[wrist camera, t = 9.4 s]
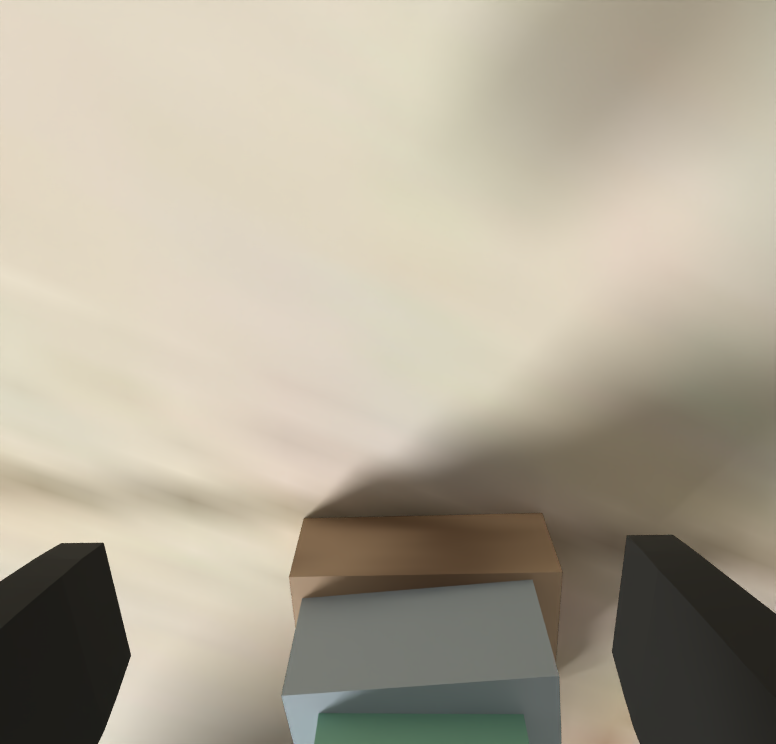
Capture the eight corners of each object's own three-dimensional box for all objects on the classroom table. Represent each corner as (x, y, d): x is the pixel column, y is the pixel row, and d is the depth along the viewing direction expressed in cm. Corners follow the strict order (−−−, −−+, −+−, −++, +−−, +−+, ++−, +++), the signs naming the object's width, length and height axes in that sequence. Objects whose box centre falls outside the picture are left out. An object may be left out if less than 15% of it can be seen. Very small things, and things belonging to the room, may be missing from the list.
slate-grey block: (337, 756, 19) (325, 868, 16) (302, 598, 16) (281, 696, 14) (540, 743, 18) (564, 856, 16) (532, 579, 16) (559, 675, 13)
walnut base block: (324, 681, 22) (312, 764, 19) (306, 510, 19) (289, 577, 16) (529, 678, 21) (548, 762, 19) (539, 504, 19) (562, 571, 16)
